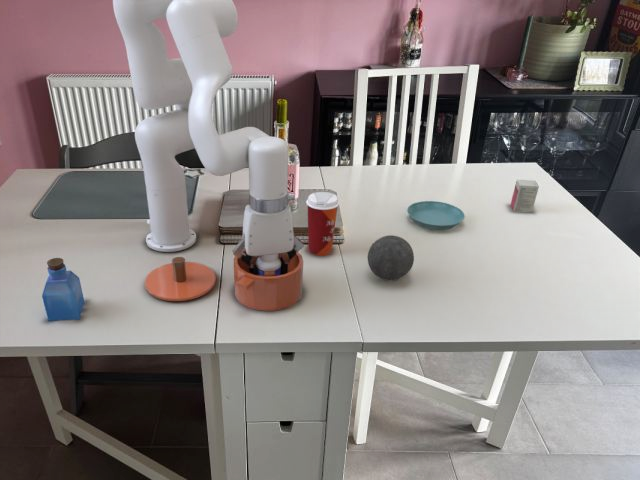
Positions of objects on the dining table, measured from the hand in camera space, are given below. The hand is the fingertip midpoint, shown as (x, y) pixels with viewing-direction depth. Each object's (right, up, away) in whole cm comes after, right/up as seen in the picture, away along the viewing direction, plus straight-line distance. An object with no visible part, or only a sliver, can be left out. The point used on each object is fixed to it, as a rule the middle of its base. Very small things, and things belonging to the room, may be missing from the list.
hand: (268, 278), depth 122 cm
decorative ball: (+27, 0, +7) cm, 28 cm away
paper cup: (+13, +7, +17) cm, 23 cm away
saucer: (+45, +16, +30) cm, 56 cm away
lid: (-20, -1, +5) cm, 20 cm away
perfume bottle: (-42, -7, -4) cm, 43 cm away
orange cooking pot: (0, -3, +2) cm, 3 cm away
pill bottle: (0, -3, +2) cm, 3 cm away
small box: (+71, +20, +36) cm, 82 cm away
